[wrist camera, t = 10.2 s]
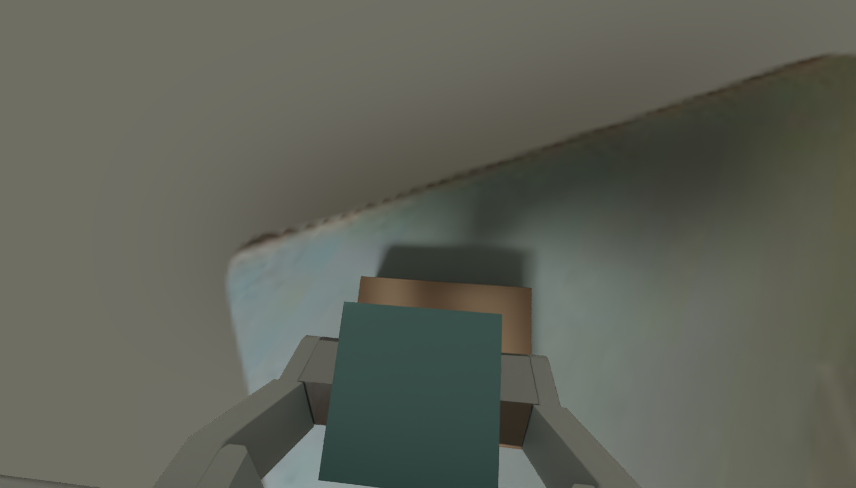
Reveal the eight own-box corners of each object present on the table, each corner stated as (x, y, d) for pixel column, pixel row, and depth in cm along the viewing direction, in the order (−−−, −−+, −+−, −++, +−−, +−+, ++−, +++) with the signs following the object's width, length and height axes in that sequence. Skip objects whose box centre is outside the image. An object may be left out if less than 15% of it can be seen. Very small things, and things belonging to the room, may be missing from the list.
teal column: (477, 325, 16) (502, 313, 8) (473, 418, 15) (497, 501, 7) (393, 318, 16) (343, 301, 9) (383, 408, 15) (318, 479, 8)
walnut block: (520, 294, 27) (531, 287, 24) (518, 432, 25) (531, 450, 21) (373, 284, 28) (361, 276, 25) (357, 415, 26) (341, 429, 22)
